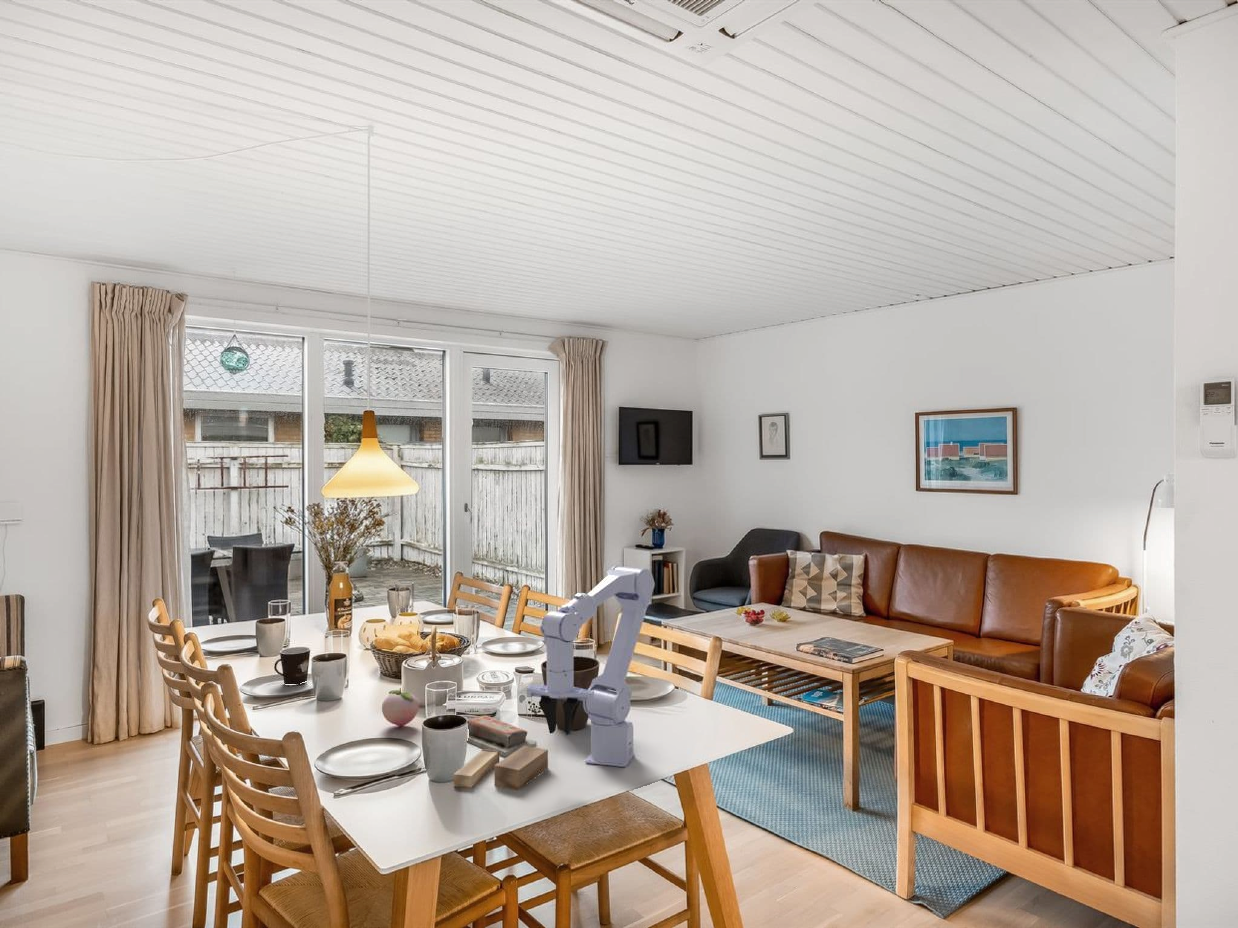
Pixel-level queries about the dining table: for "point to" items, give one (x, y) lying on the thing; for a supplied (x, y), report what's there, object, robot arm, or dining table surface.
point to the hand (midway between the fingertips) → (560, 732)
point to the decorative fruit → (400, 707)
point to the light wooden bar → (476, 768)
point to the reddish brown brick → (497, 735)
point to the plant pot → (583, 678)
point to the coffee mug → (294, 664)
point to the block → (520, 767)
